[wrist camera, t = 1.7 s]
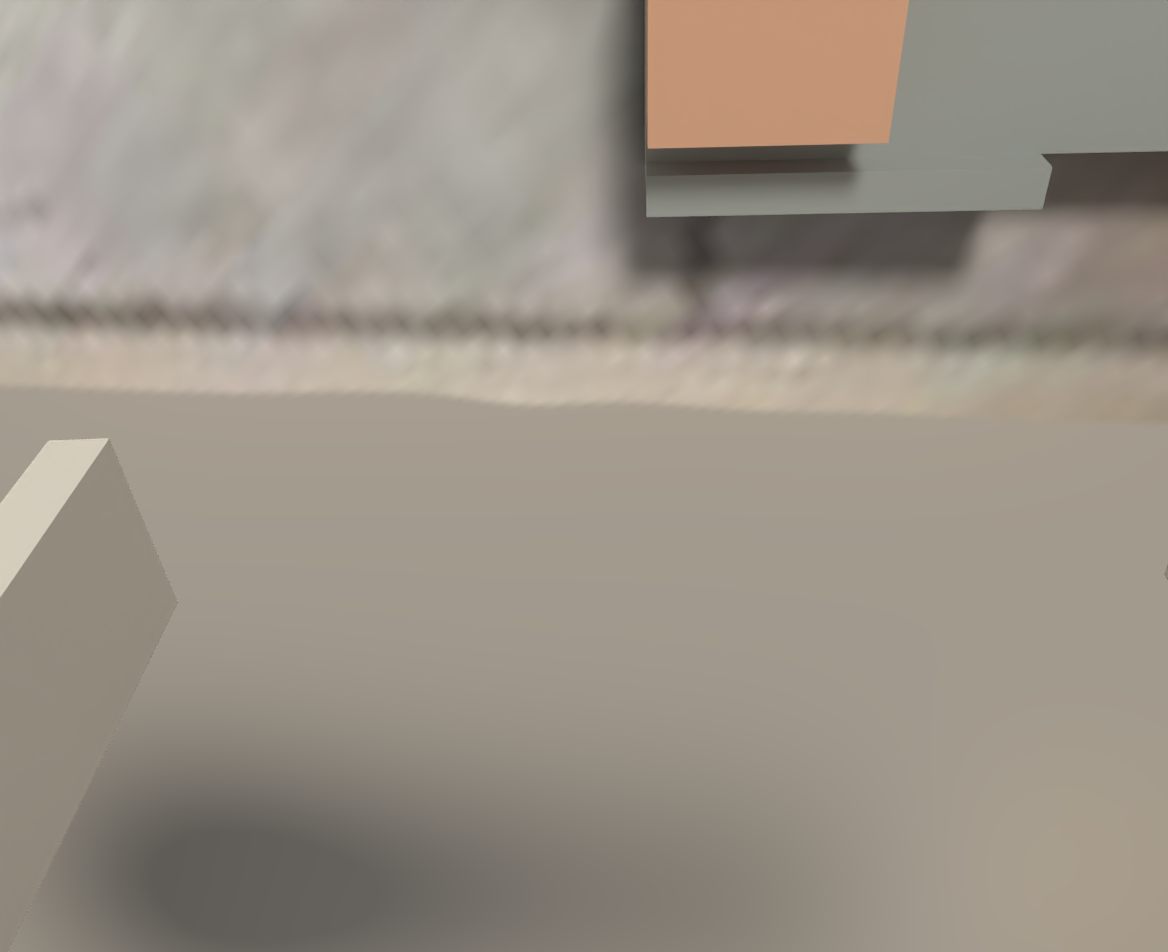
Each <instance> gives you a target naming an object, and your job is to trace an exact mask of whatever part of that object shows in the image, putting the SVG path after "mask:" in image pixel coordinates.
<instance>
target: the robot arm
mask: <svg viewBox="0 0 1168 952" xmlns="http://www.w3.org/2000/svg"><path fill="white" fill-rule="evenodd" d="M1165 576H1166V578H1167V579H1168V567H1167V569H1166V572H1165ZM177 603H178V601H177V599H176V597H175V594H174V592H173V589H172V587H171V585H170V582H169V580H168V577H167V575H166V573H165V570H164V568H163V566H162V563H161V561H160V559H159V556H158V554H157V551H156V549H155V547H154V544H153V542H152V539H151V537H150V534H149V532H148V530H147V527H146V525H145V523H144V520H143V518H142V515H141V513H140V511H139V508H138V506H137V504H136V501H135V499H134V496H133V494H132V492H131V489H130V487H129V484H128V482H127V480H126V477H125V475H124V472H123V470H122V468H121V465H120V463H119V461H118V458H117V456H116V453H115V451H114V449H113V446H112V444H111V441H110V439H109V438H107V439H81V440H58V441H57V440H56V441H48V442H47V443H46V445H45V446H44V447H43V449H42V450H41V451H40V452H39V454H38V455H37V456H36V458H35V459H34V460H33V462H32V463H31V464H30V465H29V467H28V468H27V469H26V471H25V472H24V473H23V475H22V476H21V477H20V479H19V480H18V481H17V483H16V484H15V485H14V486H13V488H12V489H11V491H10V492H9V493H8V494H7V496H6V497H5V498H4V500H3V501H2V502H1V504H0V952H8V951H9V949H10V947H11V945H12V943H13V941H14V939H15V937H16V934H17V932H18V930H19V928H20V926H21V924H22V922H23V920H24V918H25V916H26V914H27V912H28V909H29V908H30V906H31V904H32V902H33V900H34V897H35V895H36V893H37V891H38V889H39V887H40V885H41V883H42V881H43V879H44V877H45V875H46V873H47V871H48V869H49V867H50V865H51V863H52V860H53V858H54V856H55V854H56V852H57V850H58V848H59V846H60V844H61V842H62V840H63V838H64V836H65V834H66V832H67V830H68V828H69V825H70V823H71V821H72V819H73V817H74V815H75V813H76V811H77V809H78V807H79V805H80V803H81V801H82V799H83V797H84V795H85V792H86V791H87V789H88V786H89V784H90V782H91V780H92V778H93V776H94V774H95V772H96V770H97V768H98V766H99V764H100V762H101V760H102V758H103V756H104V753H105V752H106V749H107V747H108V745H109V743H110V741H111V739H112V737H113V735H114V733H115V731H116V729H117V727H118V725H119V723H120V721H121V719H122V717H123V714H124V712H125V710H126V708H127V706H128V704H129V702H130V700H131V698H132V696H133V694H134V692H135V690H136V688H137V686H138V684H139V682H140V680H141V677H142V675H143V673H144V671H145V669H146V667H147V665H148V663H149V661H150V659H151V657H152V655H153V653H154V651H155V649H156V647H157V645H158V643H159V640H160V638H161V636H162V634H163V632H164V630H165V628H166V626H167V624H168V622H169V620H170V618H171V616H172V614H173V612H174V610H175V608H176V606H177Z"/></svg>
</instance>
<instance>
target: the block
mask: <svg viewBox="0 0 1168 952" xmlns="http://www.w3.org/2000/svg"><path fill="white" fill-rule="evenodd" d="M908 5H909V0H646V121H647V146H648V149H654V148H697V147H740V146H783V145H826V144H869V143H889V136H890V129H891V122H892V115H893V109H894V102H895V95H896V88H897V81H898V74H899V67H900V60H901V53H902V46H903V39H904V32H905V26H906V19H907V12H908Z"/></svg>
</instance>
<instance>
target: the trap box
mask: <svg viewBox="0 0 1168 952" xmlns="http://www.w3.org/2000/svg"><path fill="white" fill-rule="evenodd" d="M1150 151H1168V0H909V5H908V12H907V19H906V26H905V32H904V39H903V46H902V53H901V60H900V67H899V74H898V81H897V88H896V95H895V102H894V109H893V115H892V122H891V129H890V136H889V143H869V144H826V145H783V146H740V147H697V148H654V149H648V146H647V121H646V0H645V189H646V217H684V216H734V215H784V214H834V213H884V212H934V211H984V210H1034V209H1043V205H1044V201H1045V196H1046V192H1047V188H1048V184H1049V180H1050V176H1051V172H1052V168H1053V167H1052V166H1051V165H1050V164H1049V163H1048V161H1047V160H1046V159H1045V158H1044V157H1043V156H1042V155H1041V154H1062V153H1106V152H1150Z"/></svg>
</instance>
